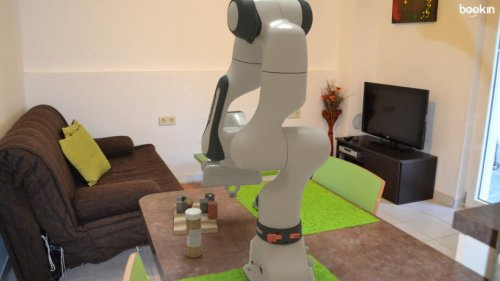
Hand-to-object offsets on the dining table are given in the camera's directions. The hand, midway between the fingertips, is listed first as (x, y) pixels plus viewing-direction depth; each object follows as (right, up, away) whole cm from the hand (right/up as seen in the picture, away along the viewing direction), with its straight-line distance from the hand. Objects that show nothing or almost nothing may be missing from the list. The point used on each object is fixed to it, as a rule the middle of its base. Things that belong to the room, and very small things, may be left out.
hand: (232, 197), depth 136 cm
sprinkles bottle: (-10, -14, -21) cm, 27 cm away
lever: (-9, -5, +6) cm, 12 cm away
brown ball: (-16, -5, +6) cm, 18 cm away
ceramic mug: (+12, -6, +12) cm, 18 cm away
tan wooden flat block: (-13, -8, +2) cm, 16 cm away
